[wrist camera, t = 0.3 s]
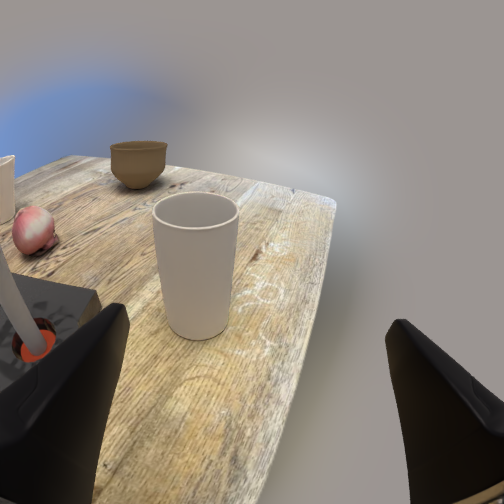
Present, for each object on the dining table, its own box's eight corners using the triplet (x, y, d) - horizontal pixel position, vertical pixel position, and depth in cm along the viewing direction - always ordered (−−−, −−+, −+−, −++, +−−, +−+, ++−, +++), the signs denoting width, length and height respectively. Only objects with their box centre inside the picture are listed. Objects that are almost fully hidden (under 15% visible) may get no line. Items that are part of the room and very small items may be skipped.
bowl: (179, 183, 58) (179, 139, 53) (136, 201, 49) (133, 151, 43) (142, 174, 63) (141, 135, 57) (102, 189, 53) (98, 146, 47)
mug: (242, 331, 26) (256, 220, 19) (176, 351, 23) (162, 236, 16) (205, 272, 33) (207, 177, 27) (151, 284, 30) (140, 185, 24)
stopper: (51, 379, 17) (-33, 222, 9) (19, 365, 17) (-57, 221, 8) (68, 343, 21) (11, 189, 12) (37, 332, 21) (-19, 192, 12)
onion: (31, 237, 35) (21, 199, 31) (66, 233, 37) (57, 193, 33) (12, 264, 28) (-2, 222, 25) (50, 262, 30) (37, 217, 27)
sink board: (56, 442, 13) (40, 431, 11) (-46, 374, 12) (-58, 359, 10) (110, 308, 26) (105, 291, 25) (11, 285, 25) (5, 270, 24)
